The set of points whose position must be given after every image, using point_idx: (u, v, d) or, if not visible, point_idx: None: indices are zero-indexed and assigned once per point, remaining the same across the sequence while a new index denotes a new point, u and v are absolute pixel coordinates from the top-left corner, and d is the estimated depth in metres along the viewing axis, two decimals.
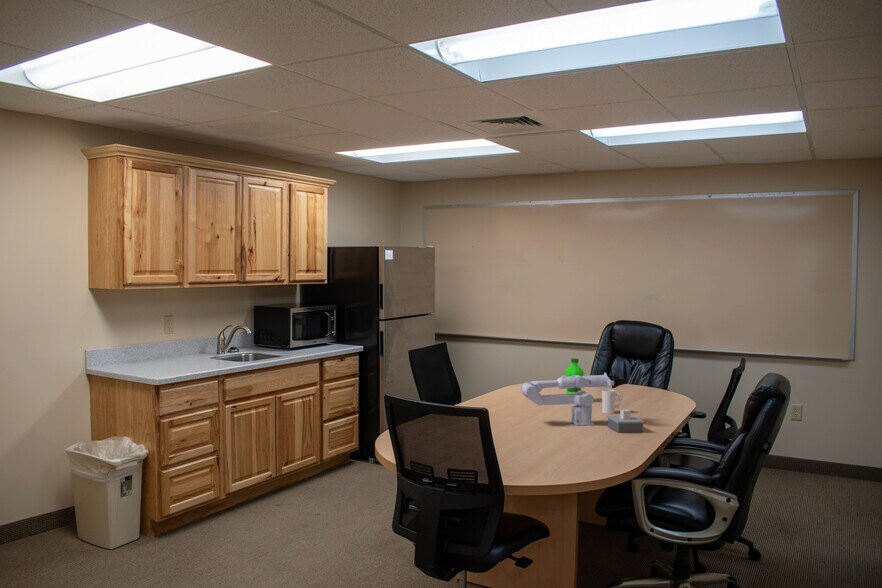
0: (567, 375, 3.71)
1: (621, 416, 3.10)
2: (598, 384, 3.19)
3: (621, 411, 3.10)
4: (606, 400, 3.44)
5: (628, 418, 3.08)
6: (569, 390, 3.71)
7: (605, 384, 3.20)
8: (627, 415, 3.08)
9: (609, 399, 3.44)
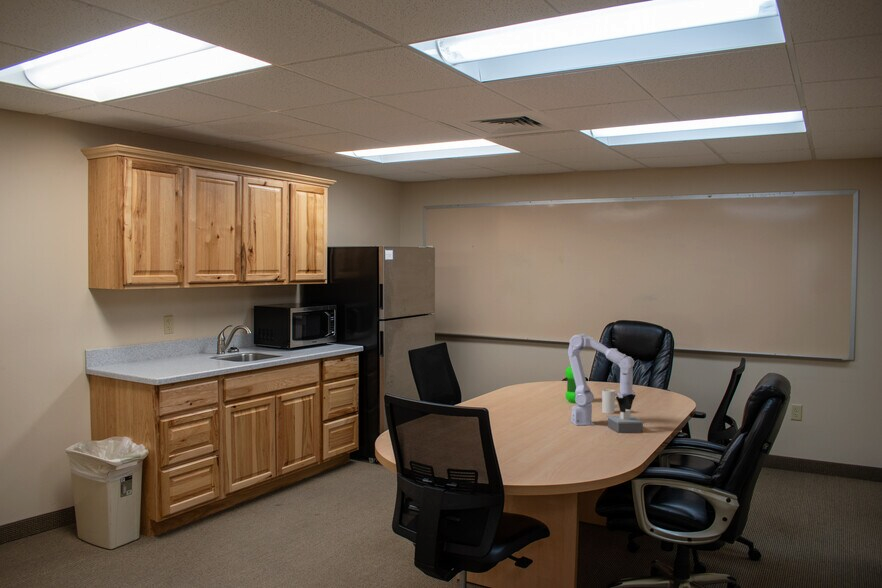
0: (567, 375, 3.71)
1: (621, 416, 3.10)
2: (621, 383, 3.08)
3: None
4: (606, 400, 3.44)
5: (628, 418, 3.08)
6: (569, 390, 3.71)
7: (621, 390, 3.08)
8: (627, 415, 3.08)
9: (609, 399, 3.44)
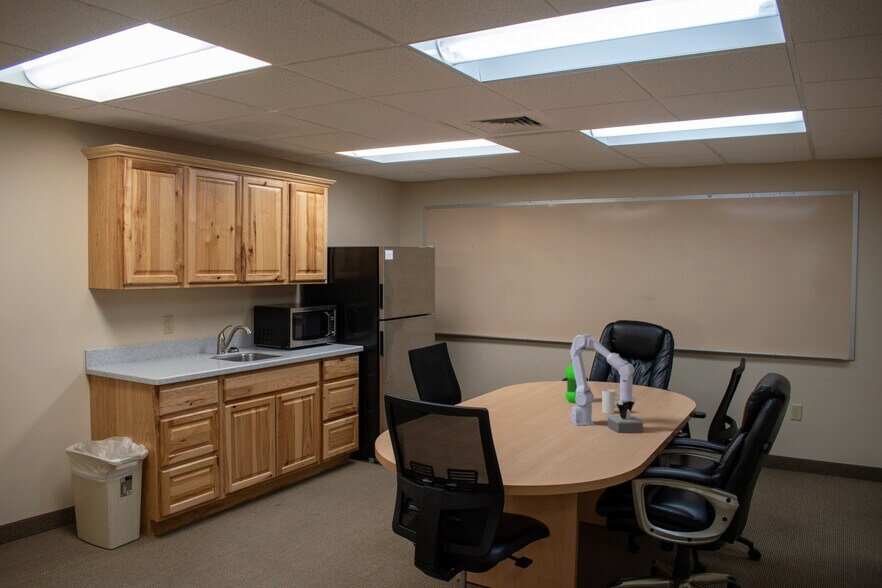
0: (567, 375, 3.71)
1: None
2: (621, 390, 3.08)
3: None
4: (606, 400, 3.44)
5: (628, 418, 3.08)
6: (569, 390, 3.71)
7: (621, 397, 3.08)
8: (627, 415, 3.08)
9: (609, 399, 3.44)
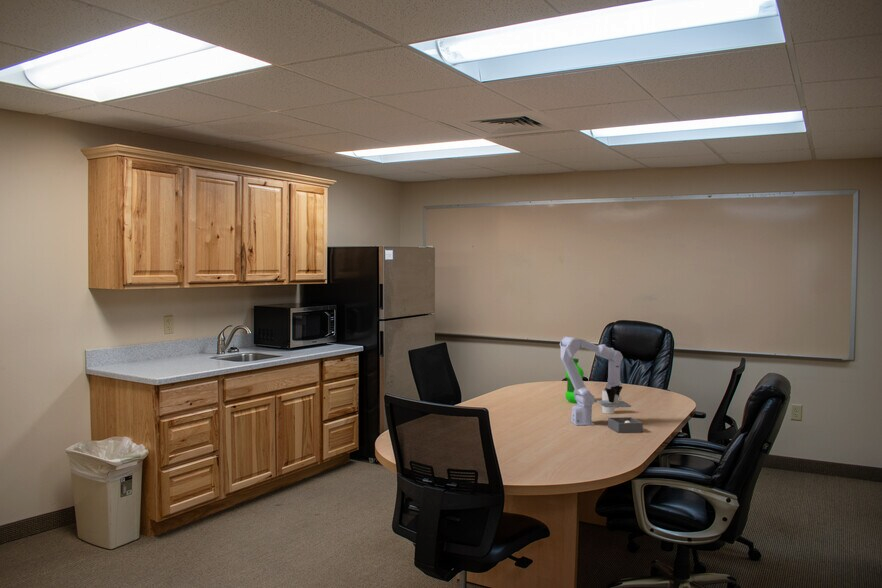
0: (567, 375, 3.71)
1: None
2: (609, 374, 3.24)
3: None
4: None
5: (616, 402, 3.24)
6: (569, 390, 3.71)
7: (609, 382, 3.24)
8: (615, 399, 3.24)
9: None
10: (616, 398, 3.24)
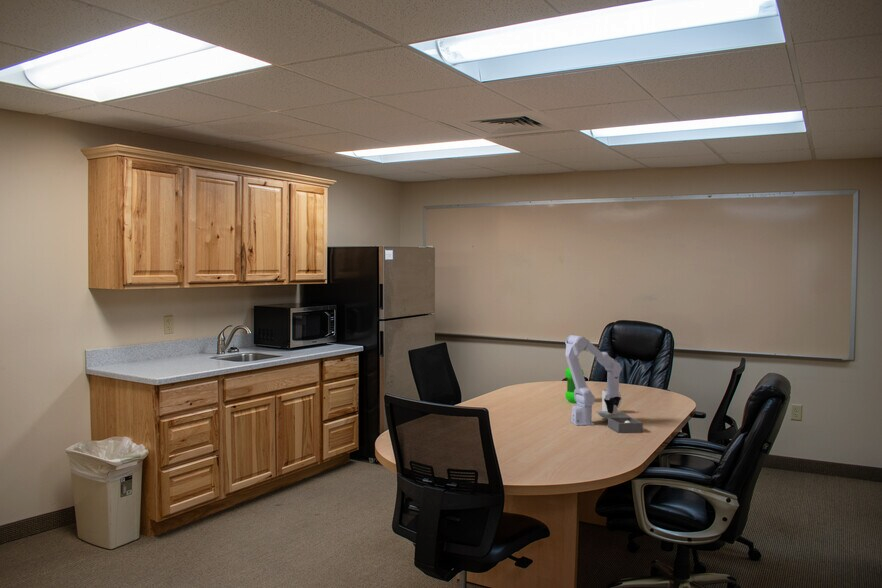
0: (567, 375, 3.71)
1: None
2: (608, 386, 3.25)
3: None
4: None
5: (615, 413, 3.25)
6: (569, 390, 3.71)
7: (608, 393, 3.25)
8: (614, 410, 3.25)
9: None
10: (615, 409, 3.25)
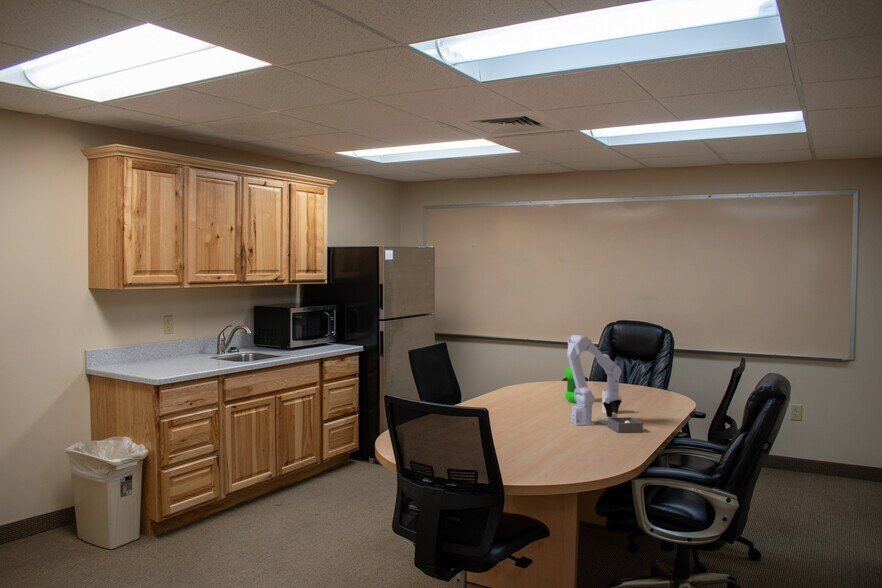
0: (567, 375, 3.71)
1: None
2: (608, 389, 3.25)
3: None
4: None
5: None
6: (569, 390, 3.71)
7: (608, 396, 3.25)
8: None
9: None
10: (615, 416, 3.25)
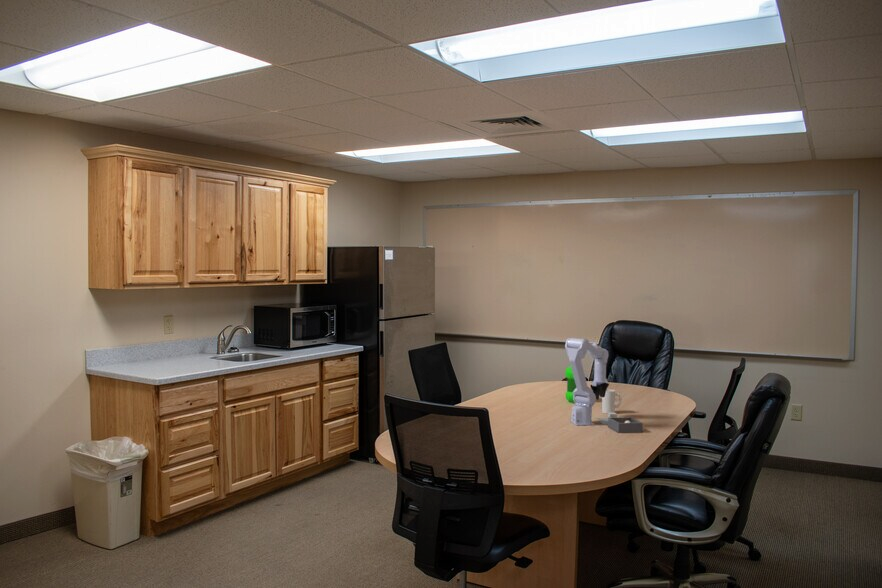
0: (567, 375, 3.71)
1: None
2: (595, 372, 3.31)
3: (608, 414, 3.27)
4: (606, 400, 3.44)
5: None
6: (569, 390, 3.71)
7: (595, 379, 3.31)
8: None
9: (609, 399, 3.44)
10: (615, 416, 3.25)
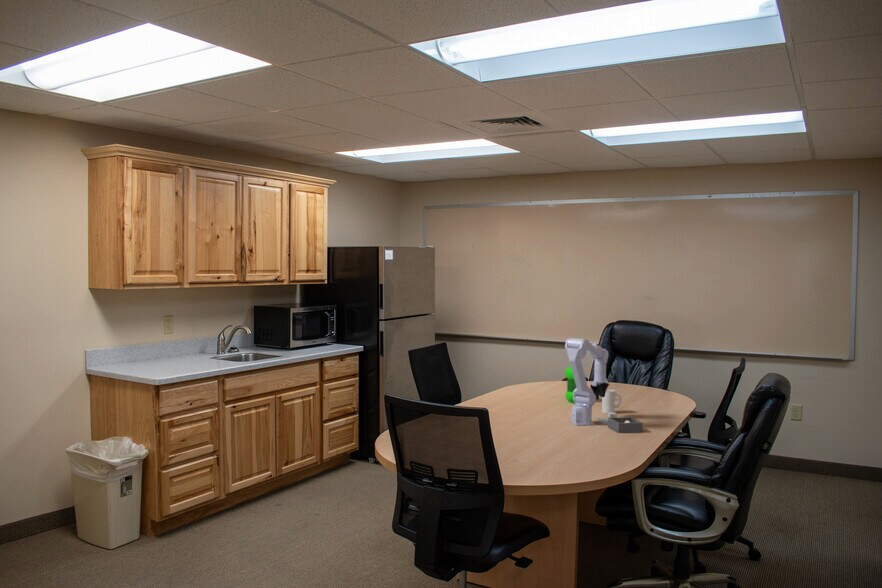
0: (567, 375, 3.71)
1: None
2: (595, 372, 3.31)
3: (608, 414, 3.27)
4: (606, 400, 3.44)
5: None
6: (569, 390, 3.71)
7: (595, 379, 3.31)
8: None
9: (609, 399, 3.44)
10: (615, 416, 3.25)
